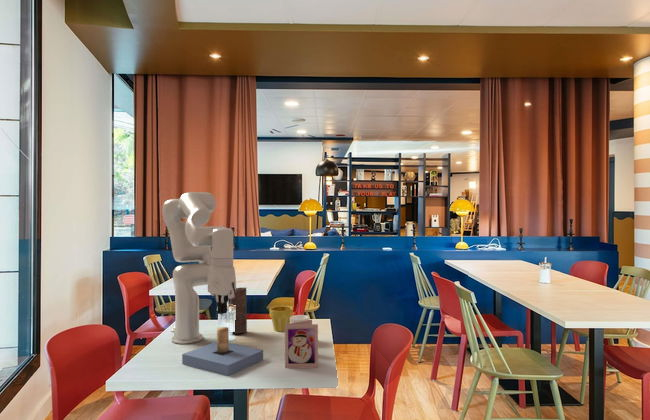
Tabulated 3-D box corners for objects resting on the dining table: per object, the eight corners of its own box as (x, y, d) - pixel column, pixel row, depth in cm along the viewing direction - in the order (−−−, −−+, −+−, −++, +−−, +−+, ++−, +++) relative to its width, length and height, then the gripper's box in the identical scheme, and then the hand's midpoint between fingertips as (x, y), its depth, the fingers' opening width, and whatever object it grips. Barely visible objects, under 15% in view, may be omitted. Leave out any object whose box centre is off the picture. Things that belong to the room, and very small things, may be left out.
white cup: (295, 345, 178) (295, 320, 178) (286, 340, 185) (286, 316, 185) (312, 342, 182) (312, 318, 182) (303, 337, 189) (303, 314, 189)
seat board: (182, 363, 158) (182, 354, 158) (218, 349, 173) (218, 340, 173) (228, 375, 146) (228, 365, 146) (263, 359, 162) (263, 350, 162)
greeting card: (284, 368, 153) (284, 325, 153) (286, 361, 160) (286, 319, 160) (318, 368, 153) (317, 324, 153) (317, 360, 160) (317, 319, 160)
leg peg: (214, 362, 159) (214, 329, 159) (222, 359, 162) (222, 326, 162) (223, 364, 157) (222, 330, 157) (231, 361, 160) (231, 327, 160)
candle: (242, 336, 191) (242, 289, 191) (226, 335, 193) (226, 289, 193) (249, 331, 199) (249, 286, 199) (234, 330, 200) (233, 286, 200)
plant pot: (268, 333, 196) (268, 311, 196) (271, 326, 206) (270, 305, 206) (291, 332, 196) (291, 310, 196) (293, 326, 206) (293, 305, 206)
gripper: (199, 261, 160) (199, 312, 161) (230, 265, 152) (230, 318, 153) (215, 259, 167) (214, 308, 167) (245, 263, 159) (245, 313, 159)
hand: (222, 313), depth 160 cm, fingers closed
